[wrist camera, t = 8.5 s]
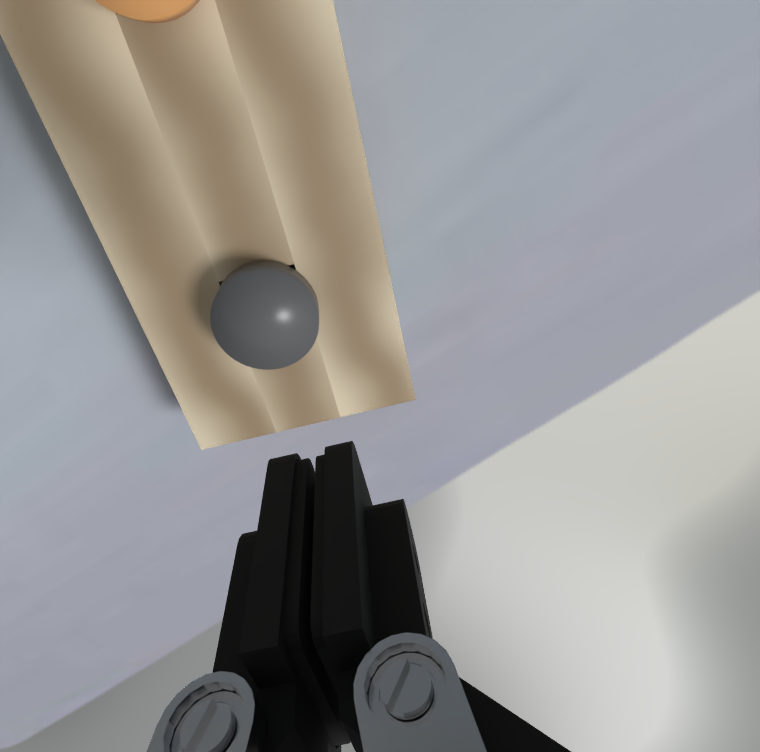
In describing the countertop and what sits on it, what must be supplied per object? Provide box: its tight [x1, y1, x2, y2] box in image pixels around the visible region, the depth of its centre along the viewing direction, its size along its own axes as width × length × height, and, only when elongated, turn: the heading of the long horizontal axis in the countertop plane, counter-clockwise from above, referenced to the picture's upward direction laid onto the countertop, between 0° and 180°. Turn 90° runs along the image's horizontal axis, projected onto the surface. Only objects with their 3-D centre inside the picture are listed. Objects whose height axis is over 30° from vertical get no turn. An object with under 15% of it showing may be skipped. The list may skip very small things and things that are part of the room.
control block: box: [0, 0, 415, 450], centre depth 23 cm, size 12×28×4 cm, turn 12°
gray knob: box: [210, 261, 319, 370], centre depth 26 cm, size 5×5×6 cm
